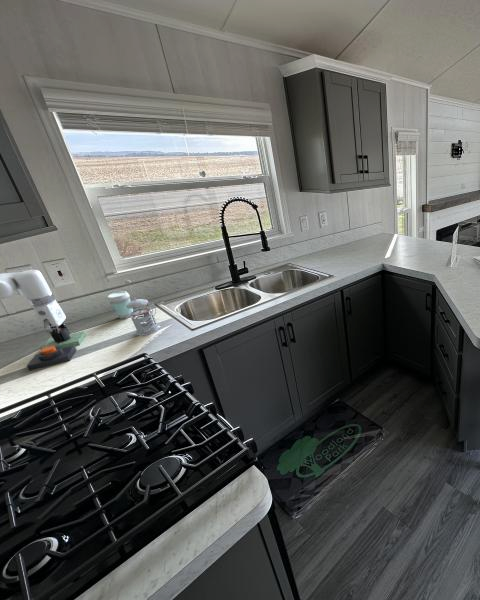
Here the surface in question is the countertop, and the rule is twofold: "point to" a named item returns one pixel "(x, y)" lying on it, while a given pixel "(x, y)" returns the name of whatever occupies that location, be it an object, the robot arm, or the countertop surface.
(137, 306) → the french press
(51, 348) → the button
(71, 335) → the dial panel
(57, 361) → the kettle base
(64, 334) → the temp dial
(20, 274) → the robot arm
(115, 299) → the coffee cup
